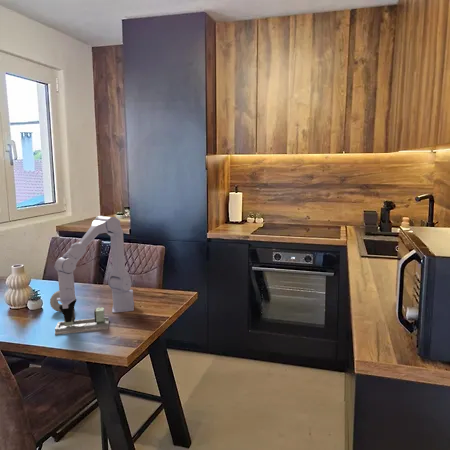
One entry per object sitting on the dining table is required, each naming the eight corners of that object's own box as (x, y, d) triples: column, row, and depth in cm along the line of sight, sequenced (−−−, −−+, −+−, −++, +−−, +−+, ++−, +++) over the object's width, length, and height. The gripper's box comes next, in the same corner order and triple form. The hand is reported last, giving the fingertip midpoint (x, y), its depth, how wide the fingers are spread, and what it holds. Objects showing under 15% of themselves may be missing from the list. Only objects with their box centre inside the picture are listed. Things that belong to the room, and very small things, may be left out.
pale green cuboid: (64, 326, 160) (63, 311, 159) (66, 322, 163) (65, 308, 162) (74, 325, 160) (73, 310, 159) (75, 321, 164) (74, 307, 163)
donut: (51, 314, 178) (49, 293, 176) (50, 312, 181) (48, 291, 179) (74, 310, 183) (73, 289, 181) (73, 308, 186) (71, 287, 184)
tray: (109, 320, 170) (107, 304, 169) (108, 329, 161) (106, 312, 160) (58, 325, 165) (57, 309, 164) (55, 334, 157) (53, 317, 156)
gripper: (59, 282, 166) (61, 314, 168) (52, 293, 152) (55, 327, 154) (77, 281, 167) (79, 312, 169) (72, 292, 153) (75, 325, 155)
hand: (69, 319), depth 162 cm, fingers closed on pale green cuboid, 4 cm apart
